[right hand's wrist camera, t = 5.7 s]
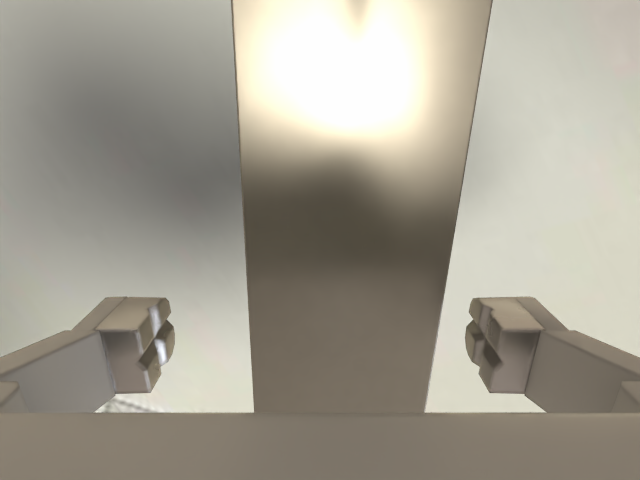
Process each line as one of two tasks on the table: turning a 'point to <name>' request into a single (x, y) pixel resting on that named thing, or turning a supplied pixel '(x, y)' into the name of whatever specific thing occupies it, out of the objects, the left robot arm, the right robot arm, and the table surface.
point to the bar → (351, 191)
